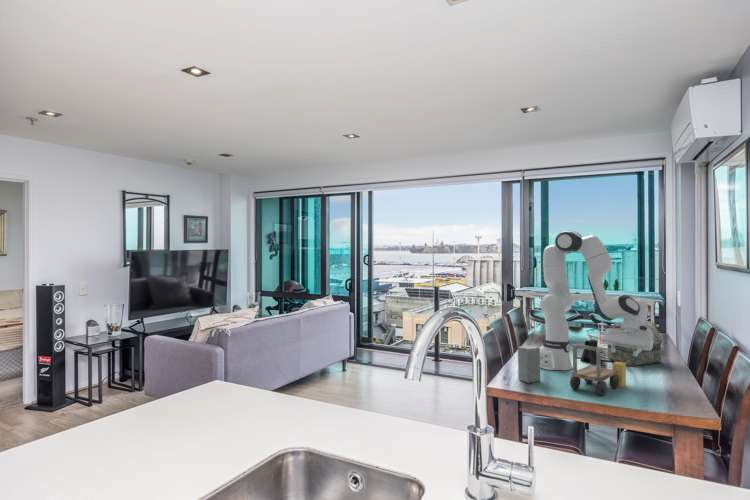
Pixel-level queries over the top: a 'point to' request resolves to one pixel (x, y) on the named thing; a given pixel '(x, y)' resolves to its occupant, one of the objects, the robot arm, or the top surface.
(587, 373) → the trolley
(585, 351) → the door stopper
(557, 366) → the robot arm
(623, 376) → the yellow rectangular block
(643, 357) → the lunch bag
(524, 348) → the gray hexagonal prism
